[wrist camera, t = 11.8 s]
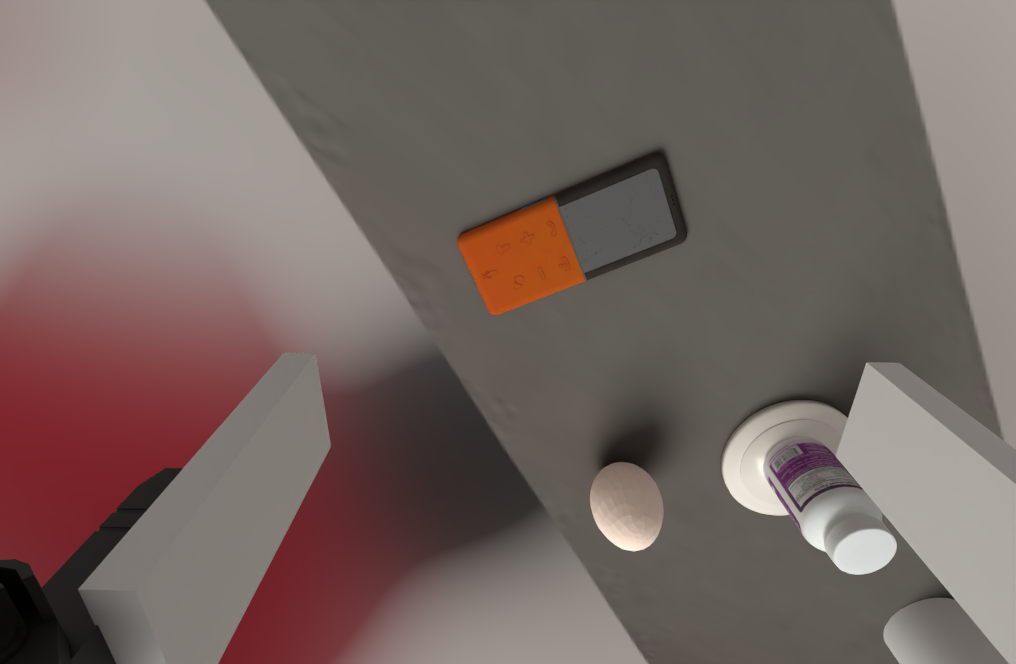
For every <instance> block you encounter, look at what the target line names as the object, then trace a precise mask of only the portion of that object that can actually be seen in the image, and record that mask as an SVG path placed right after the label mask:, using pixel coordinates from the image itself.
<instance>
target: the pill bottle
mask: <svg viewBox="0 0 1016 664" xmlns="http://www.w3.org/2000/svg"><path fill="white" fill-rule="evenodd" d="M763 472H764V476H765V478H766V480H767V482H768V483H769V485H770V486H771V488H772V490H773V491H774V492H775V494H776V495H777V497H778V499H779V500H780V501H781V503H782V504H783V506H784V507H785V509H786V510H787V512H788V513H789V515H790V517H791V518H792V519H793V521H794V523H795V524H796V526H797V527H798V528H799V530H800V532H801V533H802V535H803V536H804V537H805V539H806V540H807V541H808V542H809V543H810V544H811V545H813V546H814V547H816V548H818V549H820V550H822V551H825V552H827V554H828V555H829V557H830V558H831V559H832V561H833V562H834V563H835V564H836V566H837V567H838V568H839V569H841V570H842V571H844V572H847V573H850V574H867V573H871V572H874V571H876V570H878V569H880V568H882V567H883V566H885V565H886V564H887V563H888V562H889V561H890V560H891V559H892V558H893V556H894V554H895V552H896V548H897V544H896V540H895V538H894V536H893V535H892V534H891V532H890V531H889V530H888V529H887V528H886V526H885V525H884V524H883V522H882V512H881V510H880V509H879V508H878V507H877V505H876V504H875V503H874V502H873V501H872V499H871V498H870V497H869V496H868V495H867V493H866V492H865V491H864V490H863V489H862V487H861V486H860V485H859V484H858V483H857V481H856V480H855V479H854V478H853V477H852V475H851V474H850V473H849V472H848V471H847V469H846V468H845V467H844V466H843V465H842V464H841V462H840V461H839V460H838V459H837V458H836V456H835V455H834V453H833V452H832V451H831V450H830V449H829V448H828V447H827V446H826V445H825V444H823V443H822V442H821V441H819V440H817V439H814V438H810V437H803V436H801V437H793V438H790V439H787V440H784V441H782V442H781V443H779V444H777V445H776V446H775V447H774V448H773V449H772V450H771V451H770V452H769V454H768V455H767V457H766V459H765V461H764V465H763Z"/></svg>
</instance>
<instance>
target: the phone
mask: <svg viewBox="0 0 1016 664" xmlns="http://www.w3.org/2000/svg"><path fill="white" fill-rule="evenodd" d="M561 212H562V213H561ZM686 238H687V232H686V228H685V225H684V221H683V218H682V214H681V211H680V208H679V204H678V201H677V197H676V194H675V190H674V187H673V183H672V180H671V177H670V173H669V170H668V166H667V163H666V159H665V157H664V156H663V155H662V154H660V153H653V154H651V155H648V156H646V157H644V158H641V159H639V160H636V161H634V162H632V163H629V164H627V165H625V166H622V167H620V168H617V169H615V170H613V171H610V172H608V173H606V174H603V175H601V176H598V177H596V178H594V179H591V180H589V181H587V182H584V183H582V184H579V185H577V186H575V187H572V188H570V189H568V190H565V191H563V192H560V193H558V194H556V195H553V196H551V197H549V198H545V199H543V200H540V201H538V202H536V203H533V204H531V205H528V206H526V207H524V208H521V209H520V210H518V211H515V212H513V213H511V214H508V215H506V216H503V217H501V218H499V219H496V220H494V221H492V222H489V223H487V224H484V225H482V226H480V227H477V228H475V229H473V230H470V231H468V232H465V233H463V234H461V235H460V236H459V237H458V240H457V244H458V247H459V249H460V251H461V253H462V255H463V257H464V259H465V262H466V264H467V266H468V268H469V270H470V272H471V275H472V277H473V279H474V281H475V283H476V285H477V287H478V289H479V292H480V294H481V296H482V298H483V300H484V302H485V304H486V307H487V309H488V311H489V312H490V313H491V314H493V315H499V314H501V313H504V312H507V311H509V310H512V309H514V308H517V307H519V306H522V305H525V304H527V303H530V302H532V301H535V300H537V299H540V298H543V297H545V296H548V295H550V294H553V293H555V292H558V291H561V290H563V289H566V288H568V287H571V286H573V285H576V284H579V283H581V282H584V281H586V280H589V279H591V278H594V277H597V276H599V275H602V274H604V273H607V272H609V271H612V270H615V269H617V268H620V267H622V266H625V265H627V264H630V263H633V262H635V261H638V260H640V259H643V258H645V257H648V256H651V255H653V254H656V253H658V252H661V251H663V250H666V249H669V248H671V247H674V246H676V245H679V244H681V243H683V242H684V241H685V240H686ZM572 241H573V242H572ZM583 270H584V271H583Z"/></svg>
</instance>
